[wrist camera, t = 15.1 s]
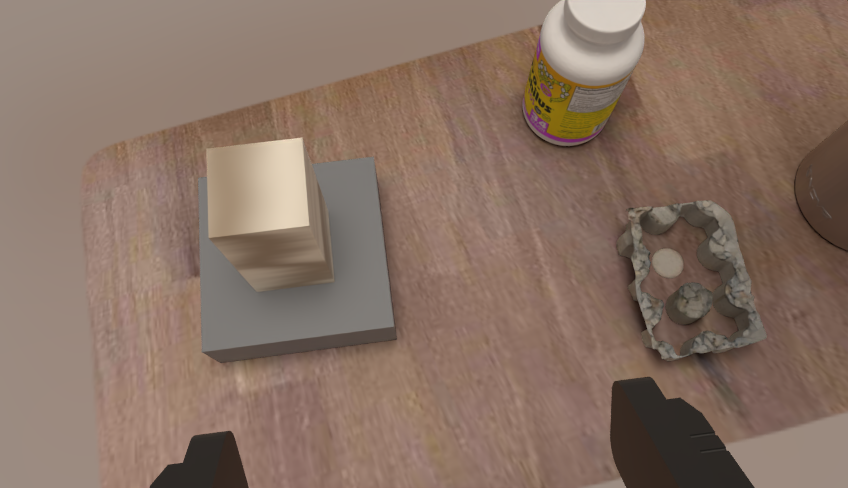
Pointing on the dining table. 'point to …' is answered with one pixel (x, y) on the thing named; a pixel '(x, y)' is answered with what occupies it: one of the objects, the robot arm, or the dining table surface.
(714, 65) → the dining table surface
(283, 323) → the plinth
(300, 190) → the cream block
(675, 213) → the egg carton
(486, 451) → the dining table surface
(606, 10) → the supplement bottle
